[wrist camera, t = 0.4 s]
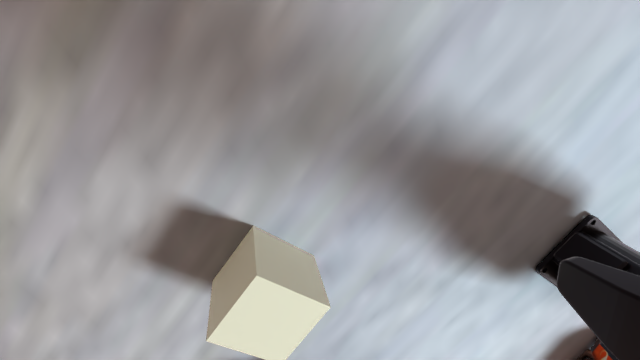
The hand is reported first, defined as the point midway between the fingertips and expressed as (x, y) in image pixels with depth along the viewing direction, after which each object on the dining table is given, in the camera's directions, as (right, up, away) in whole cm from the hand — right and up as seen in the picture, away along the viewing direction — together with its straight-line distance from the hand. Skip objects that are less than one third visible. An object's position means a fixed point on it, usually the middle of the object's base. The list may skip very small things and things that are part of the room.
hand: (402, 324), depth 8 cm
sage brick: (-6, -2, +15) cm, 16 cm away
